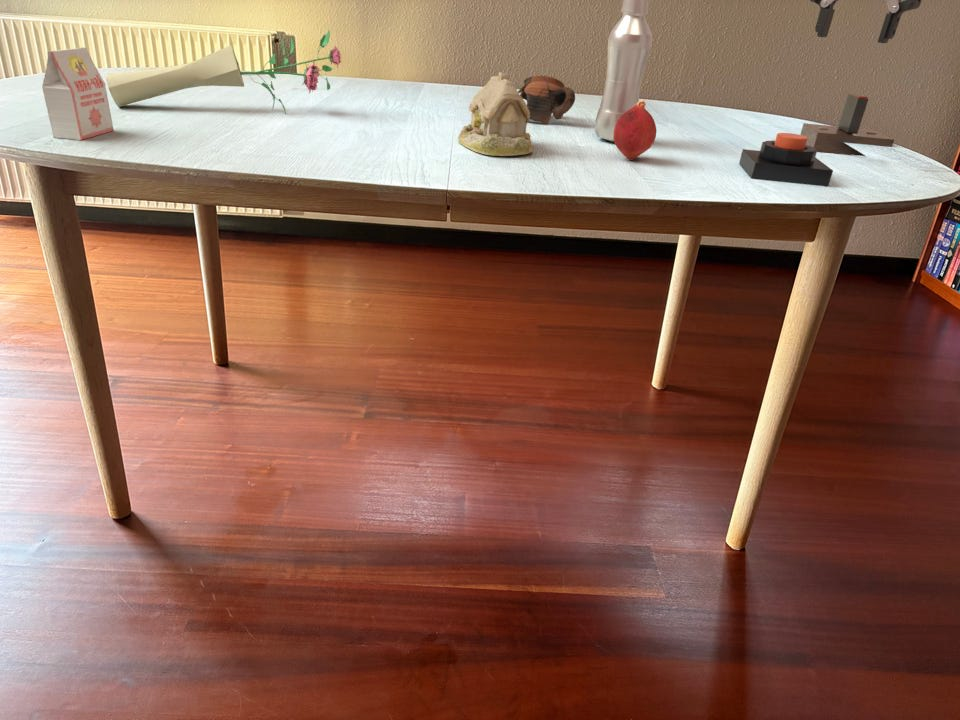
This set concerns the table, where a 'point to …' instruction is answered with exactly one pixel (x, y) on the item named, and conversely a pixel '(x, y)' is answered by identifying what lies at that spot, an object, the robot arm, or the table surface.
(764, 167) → the button housing
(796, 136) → the button
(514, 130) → the ceramic model
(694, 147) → the table surface
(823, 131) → the brown switch base
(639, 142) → the onion
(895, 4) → the robot arm
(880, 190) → the table surface
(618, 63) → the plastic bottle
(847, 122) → the dark grey rectangular block
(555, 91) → the pottery mug
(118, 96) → the flower vase
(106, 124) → the white gable-top carton
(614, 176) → the table surface
